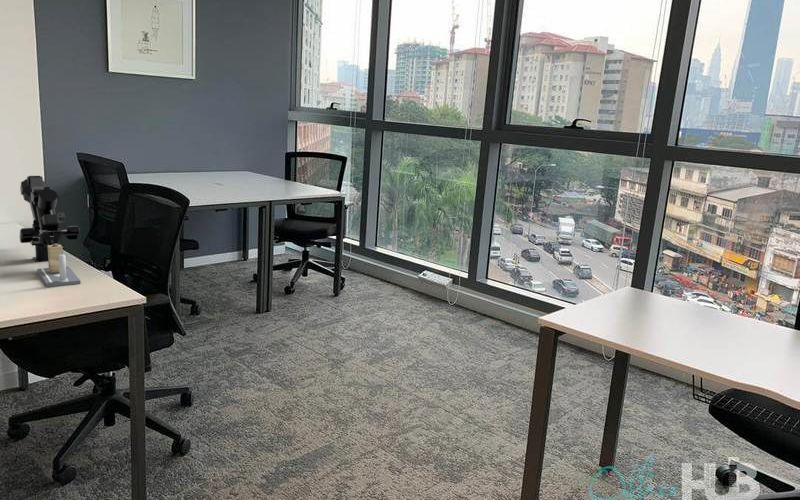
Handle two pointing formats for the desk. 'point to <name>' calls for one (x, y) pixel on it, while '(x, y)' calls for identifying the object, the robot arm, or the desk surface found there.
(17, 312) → the desk surface
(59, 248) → the pointer block
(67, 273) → the gauge board
